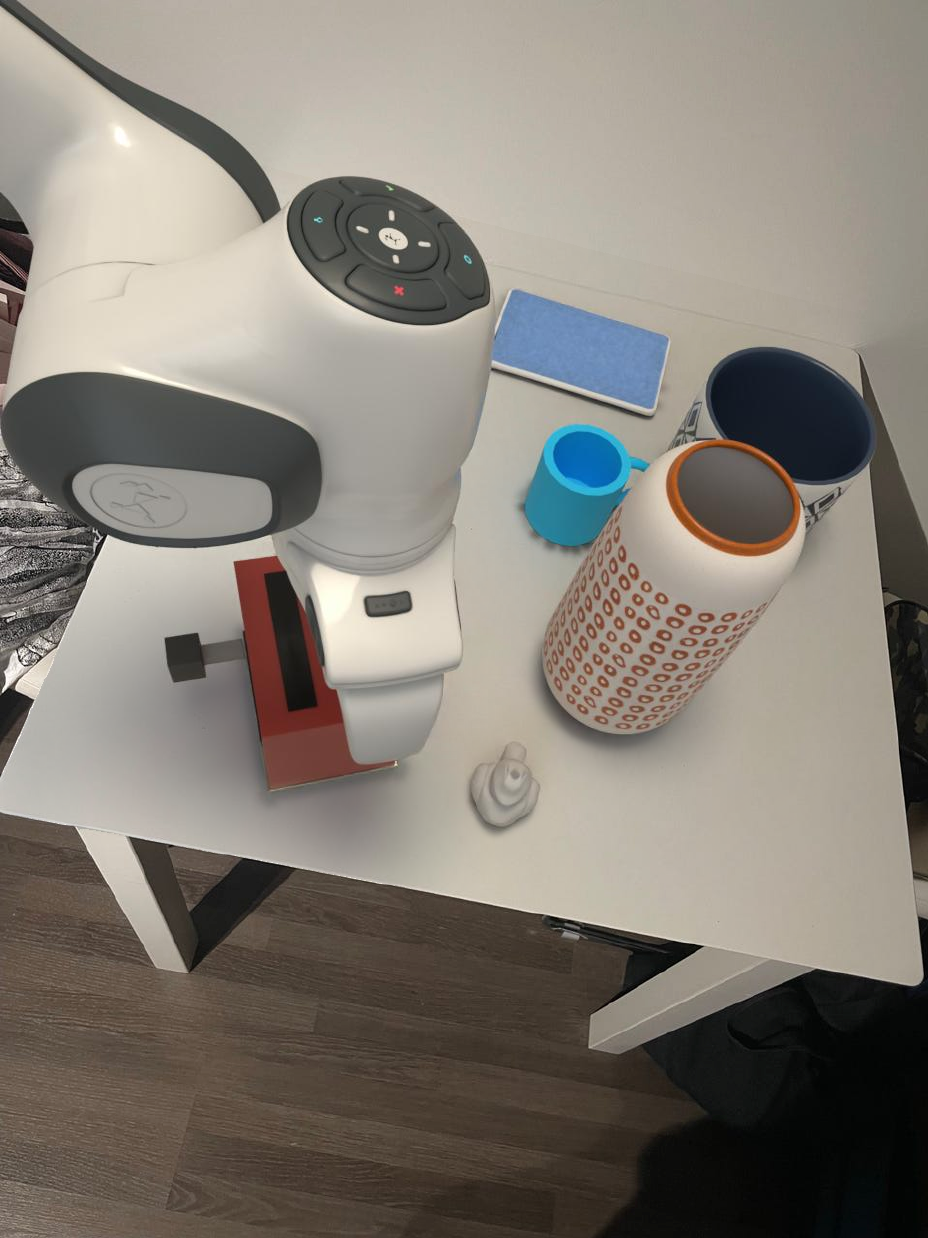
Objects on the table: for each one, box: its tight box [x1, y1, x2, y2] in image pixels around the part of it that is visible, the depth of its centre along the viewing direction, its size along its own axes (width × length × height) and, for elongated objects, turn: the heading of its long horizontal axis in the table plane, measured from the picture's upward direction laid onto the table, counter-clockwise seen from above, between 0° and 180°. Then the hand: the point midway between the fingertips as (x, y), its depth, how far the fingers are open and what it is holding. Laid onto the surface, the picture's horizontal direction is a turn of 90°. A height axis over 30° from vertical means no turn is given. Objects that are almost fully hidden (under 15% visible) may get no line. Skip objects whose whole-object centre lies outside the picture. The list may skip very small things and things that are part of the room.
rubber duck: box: [470, 741, 541, 827], centre depth 67 cm, size 5×7×8 cm
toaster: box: [233, 555, 399, 794], centre depth 67 cm, size 10×14×12 cm
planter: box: [665, 346, 877, 537], centre depth 82 cm, size 16×16×14 cm
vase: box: [541, 440, 806, 735], centre depth 65 cm, size 13×13×28 cm
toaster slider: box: [164, 632, 246, 684], centre depth 65 cm, size 5×2×3 cm, turn 105°
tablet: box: [491, 288, 672, 417], centre depth 95 cm, size 19×13×1 cm, turn 74°
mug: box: [524, 423, 651, 547], centre depth 82 cm, size 12×8×8 cm
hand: (347, 639), depth 54 cm, fingers open, 8 cm apart
